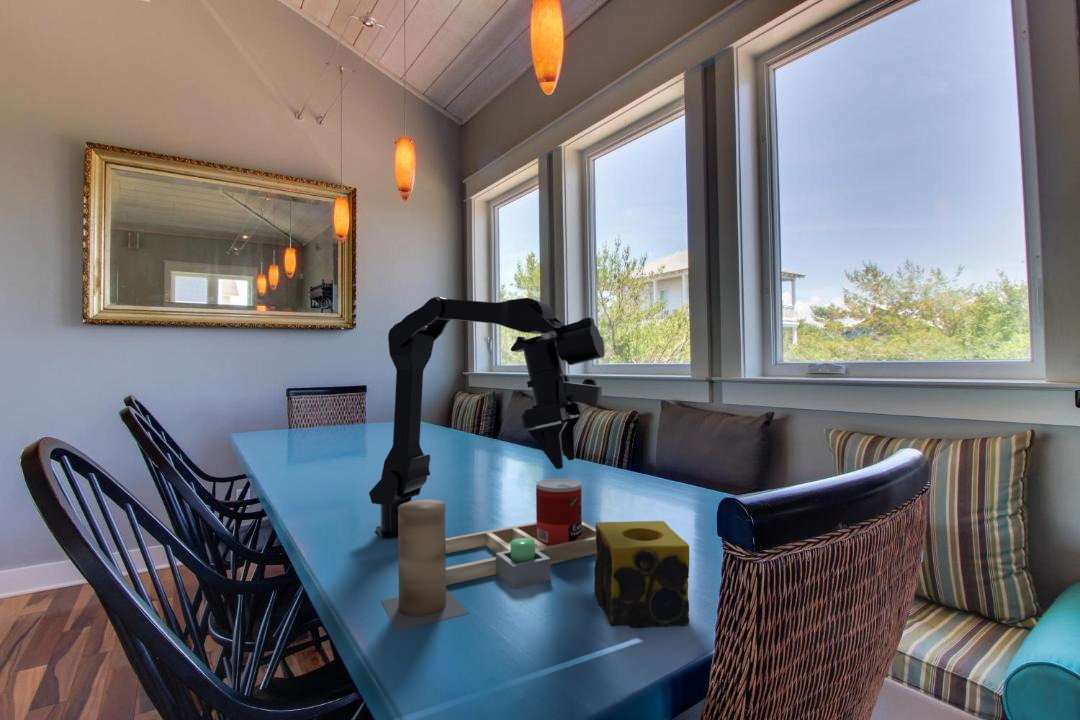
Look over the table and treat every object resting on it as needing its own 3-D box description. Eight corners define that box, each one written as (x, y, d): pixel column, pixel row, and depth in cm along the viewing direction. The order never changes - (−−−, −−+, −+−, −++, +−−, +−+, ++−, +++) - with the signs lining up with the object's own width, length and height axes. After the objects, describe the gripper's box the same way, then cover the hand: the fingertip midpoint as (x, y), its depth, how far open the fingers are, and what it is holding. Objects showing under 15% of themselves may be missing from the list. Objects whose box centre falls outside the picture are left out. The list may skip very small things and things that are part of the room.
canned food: (579, 555, 86) (578, 489, 86) (532, 552, 87) (531, 487, 88) (584, 539, 93) (583, 478, 93) (541, 537, 95) (540, 477, 95)
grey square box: (496, 576, 77) (495, 553, 77) (531, 568, 80) (531, 545, 80) (513, 591, 72) (513, 566, 72) (550, 582, 75) (550, 558, 75)
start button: (506, 560, 77) (506, 540, 77) (527, 556, 79) (527, 536, 79) (517, 569, 74) (517, 548, 74) (539, 564, 76) (539, 543, 76)
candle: (593, 593, 72) (592, 521, 72) (664, 590, 73) (663, 519, 73) (609, 631, 62) (608, 547, 62) (691, 627, 62) (690, 544, 63)
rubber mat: (380, 604, 69) (380, 601, 69) (445, 589, 73) (445, 586, 73) (397, 634, 61) (397, 631, 61) (468, 616, 65) (468, 613, 65)
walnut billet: (393, 601, 69) (393, 503, 69) (437, 591, 72) (437, 497, 72) (405, 621, 63) (404, 515, 63) (452, 609, 66) (451, 508, 66)
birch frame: (416, 558, 85) (416, 543, 85) (570, 529, 99) (570, 516, 99) (441, 588, 73) (441, 571, 73) (611, 550, 88) (611, 535, 88)
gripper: (581, 358, 76) (605, 464, 74) (600, 362, 94) (619, 447, 92) (511, 375, 78) (533, 477, 77) (542, 376, 96) (560, 459, 95)
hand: (565, 464), depth 85 cm, fingers open, 9 cm apart
